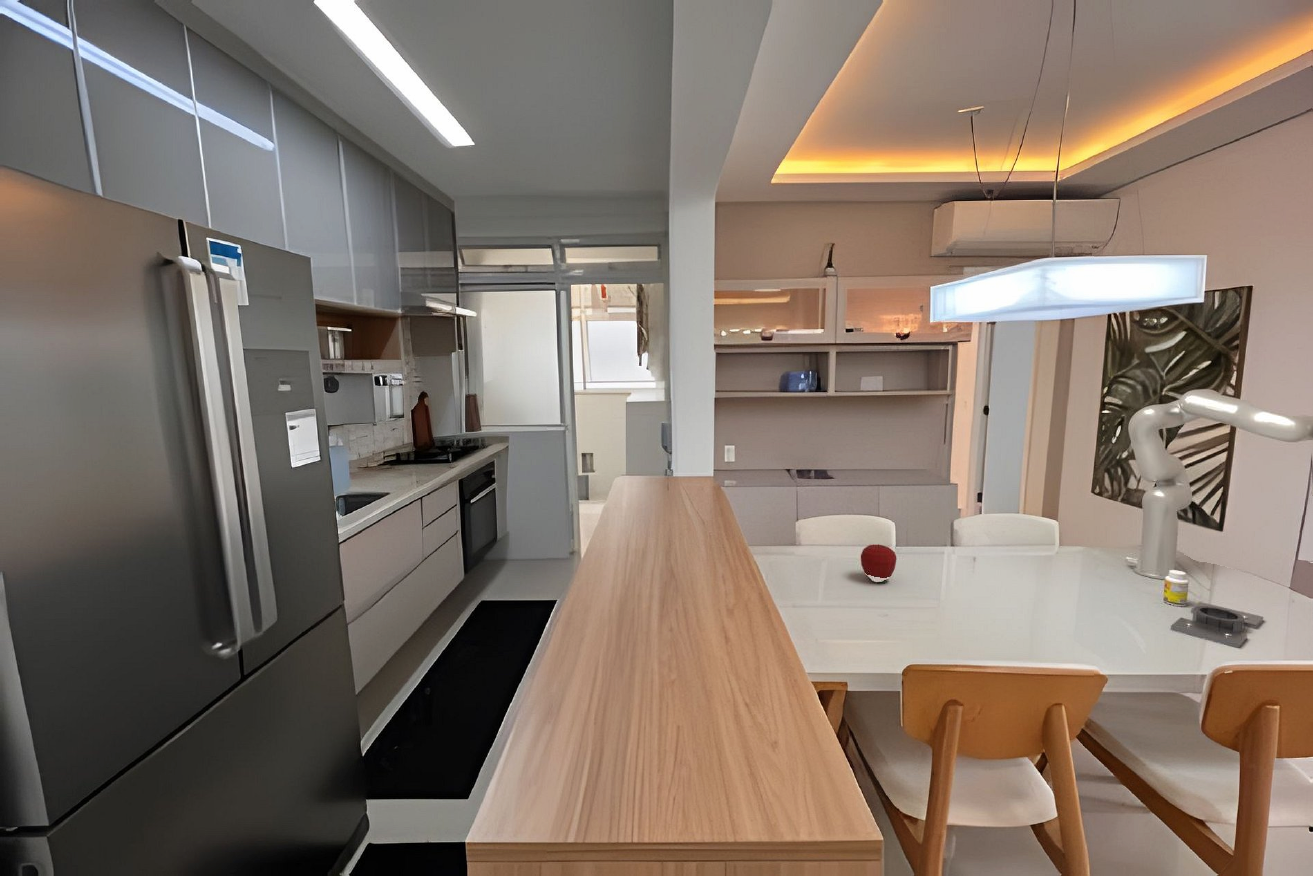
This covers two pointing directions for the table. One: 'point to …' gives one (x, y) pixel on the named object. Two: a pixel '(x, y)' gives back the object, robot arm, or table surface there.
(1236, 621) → the ring mounting bracket
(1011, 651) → the table surface
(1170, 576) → the supplement bottle
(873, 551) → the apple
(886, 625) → the table surface
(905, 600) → the table surface
